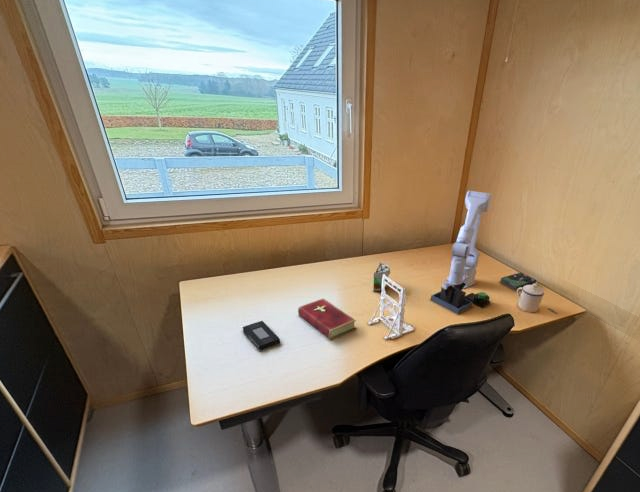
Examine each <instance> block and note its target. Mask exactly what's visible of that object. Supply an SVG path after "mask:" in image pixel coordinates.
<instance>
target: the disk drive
mask: <svg viewBox="0 0 640 492" xmlns="http://www.w3.org/2000/svg"><path fill="white" fill-rule="evenodd" d="M499 282H500V283H501V284H502V285H504V286H506V287H508V288H510V289H512V290H514V291H517V289H518V288H520V287H522V288H523V287H524V286H525V285H533V284H534V283H535V284H537V279H534V278H533V277H531V276H529V275H525V274H524V273H522V272H516V273H513V274H510V275H507V276H503V277H501V278H500V281H499Z"/></svg>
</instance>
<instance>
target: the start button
mask: <svg viewBox="0 0 640 492" xmlns="http://www.w3.org/2000/svg"><path fill="white" fill-rule="evenodd" d="M478 293H479V294H478V298H480V299H486V296H487V295H488V294H487V293H486V292H484V291H480V292H478Z"/></svg>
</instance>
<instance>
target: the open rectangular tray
mask: <svg viewBox="0 0 640 492" xmlns="http://www.w3.org/2000/svg"><path fill="white" fill-rule="evenodd" d="M440 294H441V290H440V291H438V292H436V293H434V294H432V295H430V302H433V303H435V304H437V305H439V306H441V307H442V308H444V309H446V310H448V311H450V312H452V313H454V314H456V315H460V314H461V313H463V312H465V311H466V312H467V310H469V309H471V308H473V306H474V304H473V302H471V301H469V300H467V299H465V298H464V303H463V305H461V306H459V307H458V308H457V307H455V306H453V305H451V304H449V303H447V302H445V301H443V300H441V299H440Z"/></svg>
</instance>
